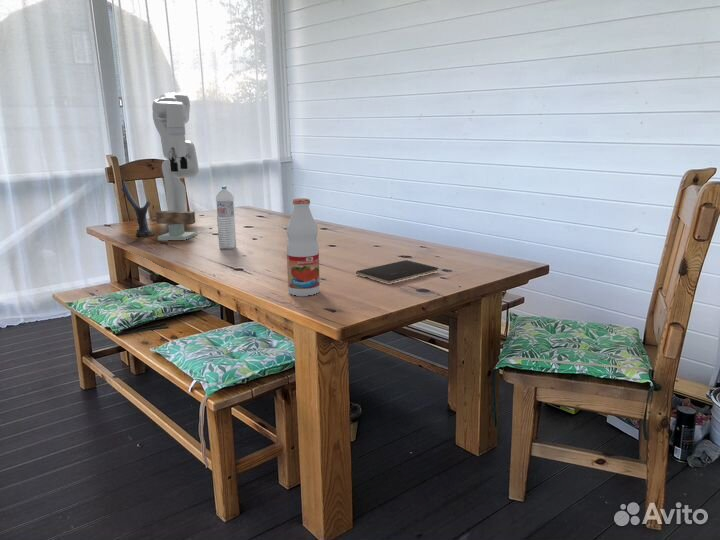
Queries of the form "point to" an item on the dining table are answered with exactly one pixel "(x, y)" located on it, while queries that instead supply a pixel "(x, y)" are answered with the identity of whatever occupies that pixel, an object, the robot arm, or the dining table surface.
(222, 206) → the water bottle
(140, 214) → the antler
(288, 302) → the dining table surface
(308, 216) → the fruit juice
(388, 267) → the hardcover book
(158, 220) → the walnut bar
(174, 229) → the block
